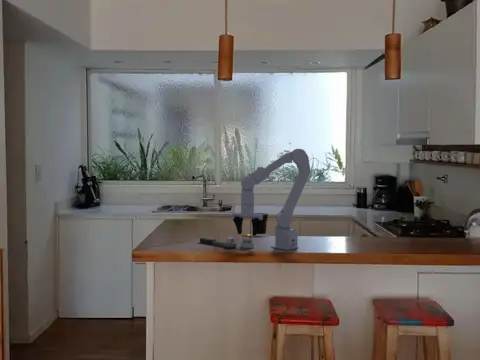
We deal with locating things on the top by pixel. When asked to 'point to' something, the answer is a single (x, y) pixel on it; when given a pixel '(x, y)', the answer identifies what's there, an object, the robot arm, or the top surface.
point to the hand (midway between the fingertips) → (247, 234)
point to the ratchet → (229, 244)
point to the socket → (247, 241)
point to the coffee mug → (262, 223)
